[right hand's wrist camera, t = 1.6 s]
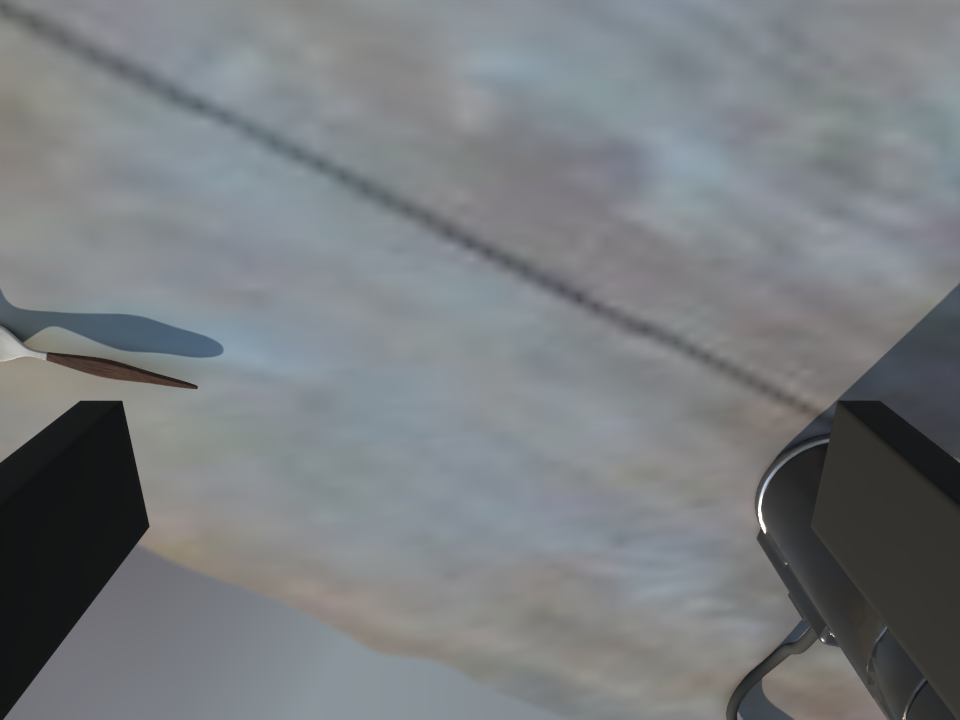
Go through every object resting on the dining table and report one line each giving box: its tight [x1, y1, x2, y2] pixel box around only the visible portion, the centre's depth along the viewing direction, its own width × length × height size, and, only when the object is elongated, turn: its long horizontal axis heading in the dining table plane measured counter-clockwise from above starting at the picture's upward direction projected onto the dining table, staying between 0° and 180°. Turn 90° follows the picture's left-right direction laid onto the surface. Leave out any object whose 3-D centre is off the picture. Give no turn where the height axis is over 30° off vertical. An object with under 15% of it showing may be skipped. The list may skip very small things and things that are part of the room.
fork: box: [0, 326, 198, 389], centre depth 41 cm, size 3×16×2 cm, turn 77°
